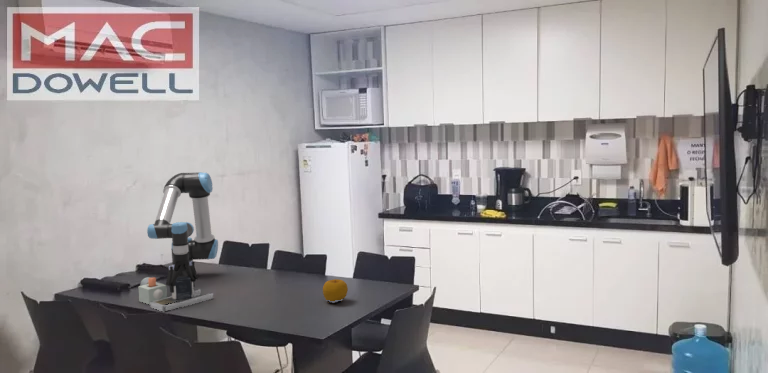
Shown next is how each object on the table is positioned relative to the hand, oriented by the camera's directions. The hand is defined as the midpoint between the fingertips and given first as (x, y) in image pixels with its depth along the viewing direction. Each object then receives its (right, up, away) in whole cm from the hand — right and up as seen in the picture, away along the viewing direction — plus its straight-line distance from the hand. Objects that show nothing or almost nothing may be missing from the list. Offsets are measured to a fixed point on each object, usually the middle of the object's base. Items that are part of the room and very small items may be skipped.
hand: (183, 296), depth 296 cm
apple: (+78, -3, -2) cm, 78 cm away
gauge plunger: (-17, +2, +4) cm, 18 cm away
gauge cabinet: (-17, -3, +5) cm, 18 cm away
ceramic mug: (-25, -2, +22) cm, 33 cm away
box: (0, -1, 0) cm, 1 cm away
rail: (0, -4, 0) cm, 4 cm away
